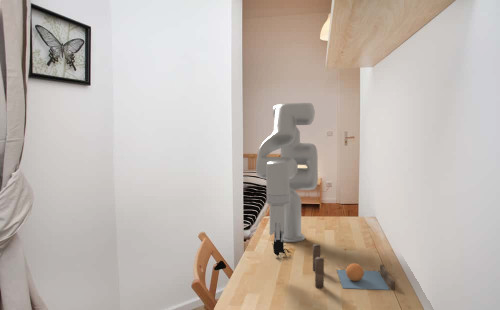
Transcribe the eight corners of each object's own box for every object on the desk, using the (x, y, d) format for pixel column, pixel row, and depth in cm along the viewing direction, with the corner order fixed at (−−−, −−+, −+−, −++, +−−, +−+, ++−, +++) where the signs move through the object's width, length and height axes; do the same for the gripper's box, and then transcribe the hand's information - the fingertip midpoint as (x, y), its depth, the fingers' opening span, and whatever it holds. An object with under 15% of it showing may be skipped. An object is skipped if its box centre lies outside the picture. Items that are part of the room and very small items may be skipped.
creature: (286, 254, 145) (268, 252, 143) (289, 241, 145) (271, 239, 142) (295, 261, 138) (276, 259, 135) (298, 247, 138) (279, 245, 135)
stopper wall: (380, 271, 124) (380, 264, 124) (383, 271, 124) (383, 264, 124) (391, 290, 110) (391, 282, 110) (394, 290, 110) (394, 282, 110)
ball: (364, 264, 119) (359, 280, 120) (348, 259, 120) (343, 274, 121) (367, 269, 114) (361, 286, 114) (349, 263, 115) (344, 280, 115)
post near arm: (312, 268, 127) (312, 243, 127) (320, 269, 127) (320, 244, 126) (313, 271, 125) (313, 246, 124) (320, 272, 124) (320, 246, 124)
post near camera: (314, 284, 115) (315, 256, 114) (323, 284, 115) (323, 257, 114) (315, 288, 112) (315, 259, 112) (324, 288, 112) (324, 260, 111)
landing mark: (336, 270, 126) (336, 269, 126) (378, 271, 124) (378, 271, 124) (342, 288, 112) (342, 287, 112) (389, 290, 110) (389, 289, 110)
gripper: (268, 193, 127) (268, 243, 129) (265, 204, 112) (266, 260, 115) (289, 193, 126) (290, 243, 129) (289, 204, 111) (290, 261, 114)
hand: (278, 251), depth 122 cm, fingers closed
